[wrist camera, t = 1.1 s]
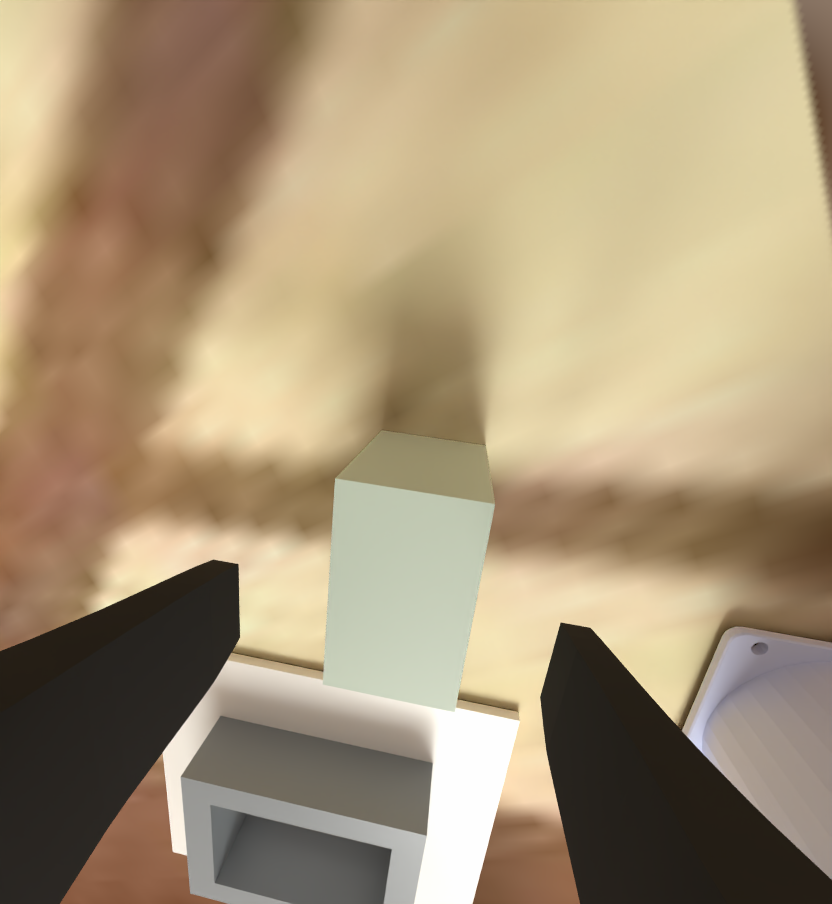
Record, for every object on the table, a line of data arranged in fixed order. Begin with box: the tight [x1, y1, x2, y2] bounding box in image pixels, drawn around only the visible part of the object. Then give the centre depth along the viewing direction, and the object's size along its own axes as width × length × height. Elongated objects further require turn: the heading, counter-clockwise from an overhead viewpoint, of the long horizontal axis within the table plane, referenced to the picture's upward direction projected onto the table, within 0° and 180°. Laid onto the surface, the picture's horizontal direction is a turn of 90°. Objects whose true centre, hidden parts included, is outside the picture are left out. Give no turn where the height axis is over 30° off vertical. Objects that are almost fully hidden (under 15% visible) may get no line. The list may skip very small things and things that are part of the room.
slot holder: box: [163, 653, 520, 904], centre depth 17 cm, size 16×14×3 cm
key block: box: [323, 430, 495, 712], centre depth 12 cm, size 4×6×5 cm, turn 173°
